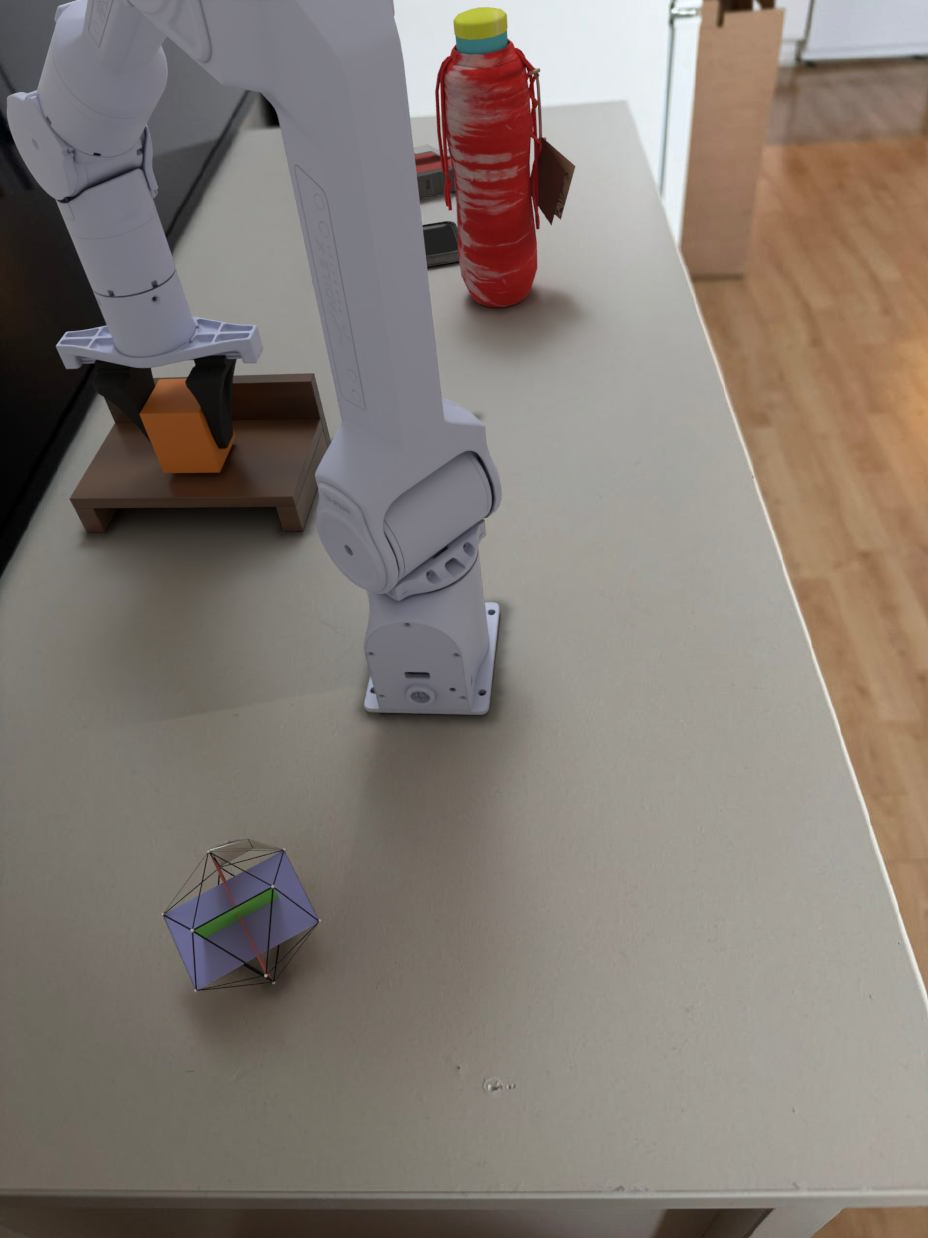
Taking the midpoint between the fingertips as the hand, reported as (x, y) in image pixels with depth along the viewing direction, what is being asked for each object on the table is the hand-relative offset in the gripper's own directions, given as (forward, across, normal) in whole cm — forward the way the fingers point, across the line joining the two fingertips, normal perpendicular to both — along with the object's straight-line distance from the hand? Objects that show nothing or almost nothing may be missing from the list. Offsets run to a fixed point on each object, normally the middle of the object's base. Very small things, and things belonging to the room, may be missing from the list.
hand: (195, 441), depth 74 cm
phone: (+5, -8, -40) cm, 42 cm away
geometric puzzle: (+6, -14, +38) cm, 40 cm away
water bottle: (+6, -22, -32) cm, 39 cm away
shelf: (+5, 0, 0) cm, 5 cm away
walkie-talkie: (+3, -8, -58) cm, 59 cm away
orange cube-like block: (+1, 0, 0) cm, 1 cm away
